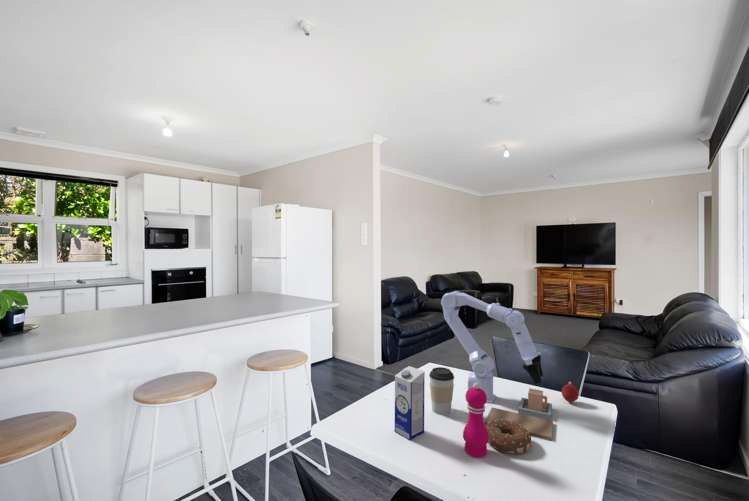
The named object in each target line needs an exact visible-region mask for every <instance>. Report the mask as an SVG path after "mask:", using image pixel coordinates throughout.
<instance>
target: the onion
mask: <svg viewBox="0 0 749 501" xmlns="http://www.w3.org/2000/svg"><path fill="white" fill-rule="evenodd" d="M561 395H562V398H563V399H564V400H565V401H567V402H568V403H569V404H571V403H574V402H576V401H577V400H578V399H579V396H580V394H579V390H578V389H577V387H576V386H575V385H573V382H572V381H569V382H568V383H567V384H564V385H563V387H562V388H561Z"/></svg>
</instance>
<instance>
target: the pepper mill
mask: <svg viewBox="0 0 749 501" xmlns="http://www.w3.org/2000/svg"><path fill="white" fill-rule="evenodd" d="M464 396H465V400H466V402H467V405H466V406H467V407H466V409H467V411H468V416H467V417H468V419H467V422H466V423H465V426H464V428H463V432H462V438H463V440H464V442H465V443H464V452H465V453H466V454H467V455H469V456H470V457H474V458H477V459H478V458H479V459H480V458H484V457H486V456H487V453H488V446H487V444H488V441H489V436H488V432H487V429H486V424H485V419H484V413H485V412H486V406H485V405H486V403H488V402H487V396H486V393H485V392H484V391H483V390H482V389H480V388H479V384H478V383H474V384H473V388H470V389H468V388H467V391H466V393H465V395H464Z"/></svg>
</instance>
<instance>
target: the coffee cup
mask: <svg viewBox="0 0 749 501" xmlns="http://www.w3.org/2000/svg"><path fill="white" fill-rule="evenodd" d="M428 376H429V387H430V388H429V389H430V390H429V391H430V400H431V411H432V412H433V413H434V414H437V415H441V416H447V415H449V414H451V412H452V401H453V396H454V395H453V394H454V384H455V383H454V379H455V376H454V373H453V372H452V371H451V369H449V368H447V367H441V366H439V367H438V366H437V367H433V368H432V370H431V371H430V372H429V374H428Z"/></svg>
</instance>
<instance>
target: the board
mask: <svg viewBox="0 0 749 501" xmlns="http://www.w3.org/2000/svg"><path fill="white" fill-rule="evenodd" d="M488 412H489V413H488V414H487V417H486V418H485V419H484V424H485V426H486V425H487V423H489V421H493V420H498V419H503V420H507V421H511V422H513V421H514V422H516V423H518V424H521V425H522V426H523V427H524V428H526V430H527V431H528V432H529V434H530V435H531V437H535V438H539V439H543V440H547V441H550V442H551V441H552V439H553V438H552V437H553V428H554V420H552V419H551V420H547V419H543V418H538V417H534V416H529V415H525V414H520V413H518V412H515V411H510V410H506V409H501V408H497V407H494V406H493V407H491V408H490V410H489V411H488Z"/></svg>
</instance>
